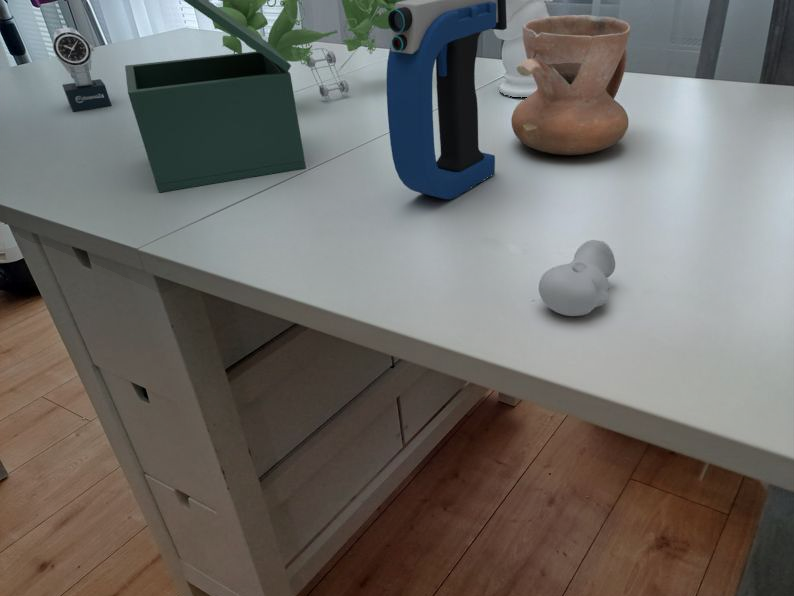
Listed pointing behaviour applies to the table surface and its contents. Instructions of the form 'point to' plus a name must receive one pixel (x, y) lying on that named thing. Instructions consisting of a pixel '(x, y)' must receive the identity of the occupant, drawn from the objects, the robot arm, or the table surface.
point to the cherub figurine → (518, 45)
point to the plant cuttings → (245, 3)
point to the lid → (239, 31)
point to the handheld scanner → (438, 92)
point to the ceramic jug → (573, 84)
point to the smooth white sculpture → (579, 280)
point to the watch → (79, 71)
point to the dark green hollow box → (215, 119)
